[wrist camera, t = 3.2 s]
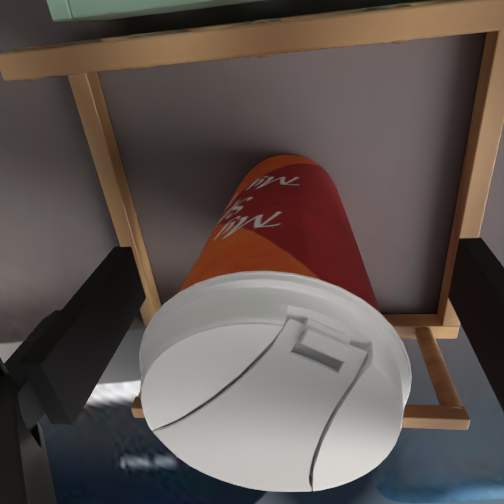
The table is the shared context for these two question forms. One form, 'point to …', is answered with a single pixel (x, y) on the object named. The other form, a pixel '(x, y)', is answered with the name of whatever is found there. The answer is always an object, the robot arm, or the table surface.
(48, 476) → the robot arm
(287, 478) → the paper cup
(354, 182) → the table surface
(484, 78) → the drying rack
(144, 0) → the green rectangular tray
